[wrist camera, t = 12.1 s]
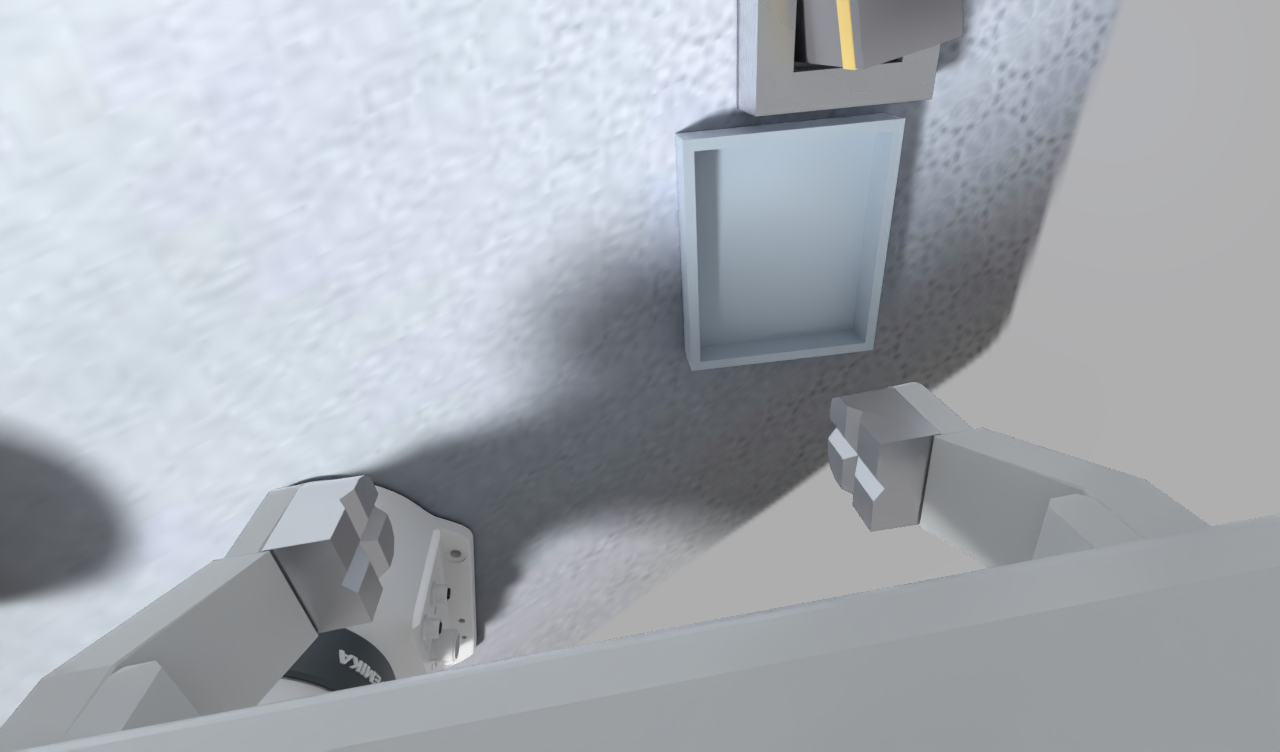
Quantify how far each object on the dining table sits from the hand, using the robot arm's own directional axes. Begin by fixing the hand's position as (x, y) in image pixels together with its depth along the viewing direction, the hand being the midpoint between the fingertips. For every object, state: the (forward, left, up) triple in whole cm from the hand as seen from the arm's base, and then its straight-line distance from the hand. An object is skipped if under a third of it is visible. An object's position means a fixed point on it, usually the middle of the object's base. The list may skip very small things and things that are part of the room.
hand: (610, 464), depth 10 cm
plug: (+7, -13, -26) cm, 30 cm away
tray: (-5, -11, -27) cm, 29 cm away
